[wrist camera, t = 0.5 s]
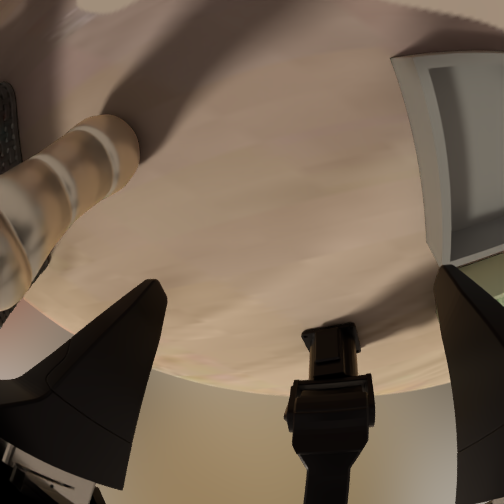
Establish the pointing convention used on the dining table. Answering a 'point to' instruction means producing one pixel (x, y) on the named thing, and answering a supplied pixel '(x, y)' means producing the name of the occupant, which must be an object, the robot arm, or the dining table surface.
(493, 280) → the small crate
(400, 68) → the large crate
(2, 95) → the storage bin
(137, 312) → the robot arm
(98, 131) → the plastic bottle
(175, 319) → the dining table surface
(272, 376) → the dining table surface
